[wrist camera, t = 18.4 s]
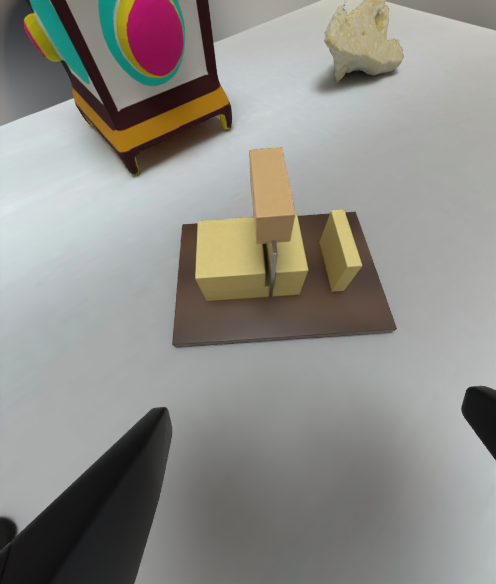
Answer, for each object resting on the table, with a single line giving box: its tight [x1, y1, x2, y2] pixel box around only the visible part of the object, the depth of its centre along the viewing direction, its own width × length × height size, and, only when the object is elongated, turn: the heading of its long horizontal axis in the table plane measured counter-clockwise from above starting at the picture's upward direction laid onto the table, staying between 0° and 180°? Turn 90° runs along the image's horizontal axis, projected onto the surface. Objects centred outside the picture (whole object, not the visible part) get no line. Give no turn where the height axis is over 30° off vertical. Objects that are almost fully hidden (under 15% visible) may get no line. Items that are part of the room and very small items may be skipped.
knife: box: [249, 147, 296, 298], centre depth 18 cm, size 8×2×9 cm, turn 3°
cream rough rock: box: [324, 0, 404, 81], centre depth 40 cm, size 15×7×15 cm
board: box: [172, 212, 397, 347], centre depth 24 cm, size 14×20×1 cm
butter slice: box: [320, 210, 362, 292], centre depth 22 cm, size 6×1×4 cm, turn 3°
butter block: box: [195, 214, 308, 301], centre depth 22 cm, size 6×9×4 cm, turn 93°
